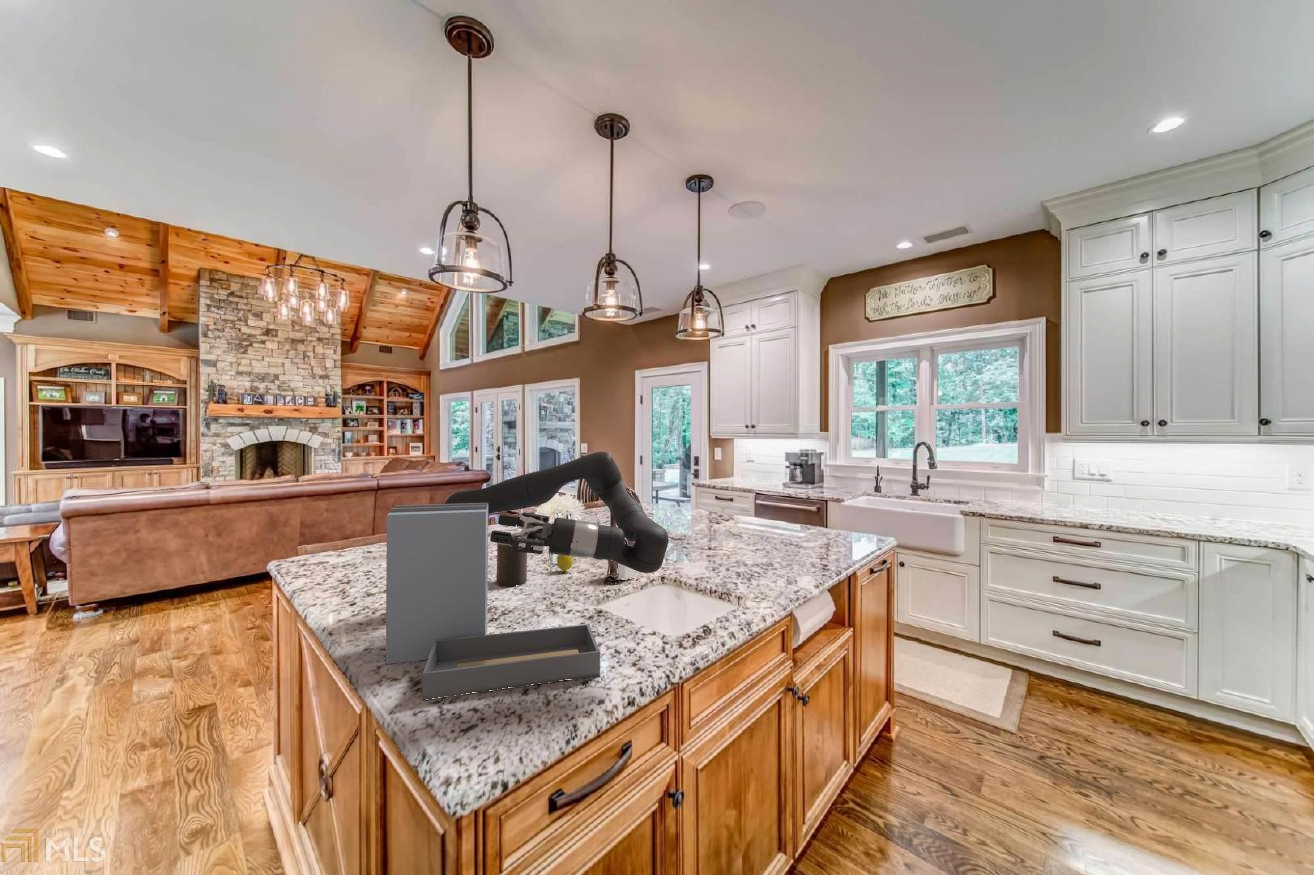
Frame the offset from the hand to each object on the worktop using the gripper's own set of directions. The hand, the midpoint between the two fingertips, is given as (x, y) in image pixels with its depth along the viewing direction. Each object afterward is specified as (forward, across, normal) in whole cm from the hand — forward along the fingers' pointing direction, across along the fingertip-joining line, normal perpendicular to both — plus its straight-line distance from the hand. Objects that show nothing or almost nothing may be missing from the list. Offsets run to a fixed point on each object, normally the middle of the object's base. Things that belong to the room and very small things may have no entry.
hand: (495, 527), depth 99 cm
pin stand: (+9, -8, +35) cm, 37 cm away
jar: (-38, -57, +38) cm, 78 cm away
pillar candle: (-2, -55, +44) cm, 71 cm away
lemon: (-19, -66, +44) cm, 81 cm away
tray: (-9, +5, +29) cm, 31 cm away
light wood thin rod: (-10, +5, +27) cm, 29 cm away
